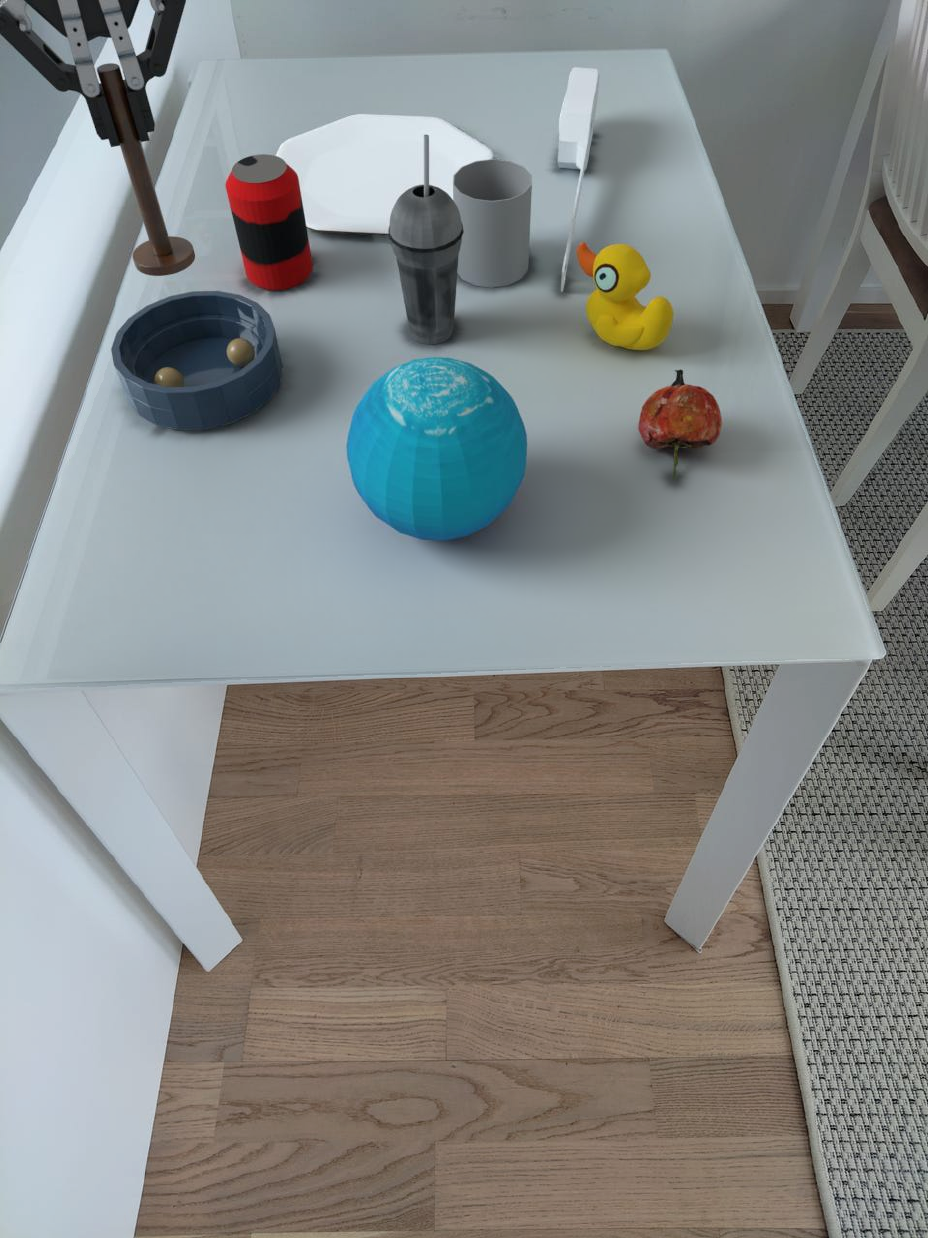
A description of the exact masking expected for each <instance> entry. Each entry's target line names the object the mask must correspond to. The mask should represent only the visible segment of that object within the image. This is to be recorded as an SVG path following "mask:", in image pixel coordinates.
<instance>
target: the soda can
mask: <svg viewBox="0 0 928 1238" xmlns="http://www.w3.org/2000/svg"><path fill="white" fill-rule="evenodd" d="M224 186H225V190H226V194H227V195H226V196H227V200H228V203H229V206H230V211H231V215H232V221H233V225H234V228H235V233H236V237H237V238H236V239H237V241H238V245H239V250H240V255H241V258H242V263H243V267H244V271H245V276H246V278H247V280H248V281H249V282H250V283H251V284H253V285H254V286H255V287H257V288H259V289H262V290H267V291H275V292H279V291H286V290H291V289H294V288H296V287H298V286H300V285H302V284H304V283H305V281H307V280H308V279H309V277H310V275H311V274H312V273H313V270H314V267H313V266H314V264H313V257H312V251H311V246H310V245H311V244H310V239H309V233H308V228H307V227H306V221H305V215H304V209H303V203H302V197H301V191H300V185H299V179H298V175H297V173H296V172H295V171H294V170H293V169H292V168H291V167H290V166H289V165H288V164H286V162H285V161H284V160H283V159H281V158H280V157H277V156H276V155H273V154H253V155H249V156H245V157H243V158H242V159H239V160H238V161H237V162H235V163H234V165H232V168H231V171H230V174H229V175H228V177H227V179H226V181H225V185H224Z"/></svg>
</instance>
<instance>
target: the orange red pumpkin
mask: <svg viewBox="0 0 928 1238" xmlns="http://www.w3.org/2000/svg"><path fill="white" fill-rule="evenodd" d="M674 372H675V373H676V378H675V380H674V381H673V382H672V383H671V384H670V385H666V386H664V387H662V388H660V389H658V390H656V391H654V392H653V393H652V394H651V395H650V396H648V398H647V399H646V400H645V402H644V403H643V405H642V407H641V410H640V414H639V419H638V427H637V429H638V432H639V434H640V437H641V438H642V440H643V442H644V443H645V445H646V446H647V447H649V448H650V449H652V450H653V449H654V450H659V449H660V450H661V449H665V448H670V447H671V448H674V449H673V473H672V474H673V475H672V477H673V478H672V481H675V479H676V475H677V467H678V464H679V459H678V450H679V448H680V449H687V450H693V449H701V448H703V447H704V446H707V447H709V446H712V445H714V444H715V443H716V441H717V440H718V439H719V437H720V435H721V430H722V425H723V419H722V414H721V413H722V412H721V409H720V406H719V404H718V401H717V399H716V398H715V396H714V395H713V394H711V393H710V391H708V390H707V389H705V388H703V387H701V386H699V385H692V384H689V383H685V381H684V370H683V369H681V368H680V369H674Z"/></svg>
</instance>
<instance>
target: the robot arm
mask: <svg viewBox="0 0 928 1238" xmlns="http://www.w3.org/2000/svg"><path fill="white" fill-rule="evenodd" d="M140 1H141V0H0V36H2V37H3V39H4V40H6V42H7V43H8V44H10V46H12V48H14V49H15V51H16V52H18V53H19V54H20V55H21V56H22V57H23V58H24V59H25V60H26V61H27V62H28V63H29V64H30V65H31V66H32V67H33V68H34V69H35V70H36V71H37V72H38V73H39V74H40V75H41V76H42V77H43V78H44V79H45V80H46V81H47V82H48V83H50V85H51V86H52V87H53V88H55V90H57V91H58V92H62V93H66V92H68V91H70V92H76V93H78V94H80V95H81V96H82V97H83V98H84V99H85V103H86V105H87V108H88V112H89V114H90V117H91V120H92V123H93V127H94V130H95V133H96V135H97V137H98V138H100V140H101V141H106V140H108V143H109V146H110V148H114V147H120V142H119V139H118V136H117V133H116V129H115V126H114V123H113V120H112V116H111V113H110V110H109V107H108V103H107V100H106V97H105V94H104V90H103V89H102V85H101V82H100V81H99V79H98V74H97V70H96V68H95V65H94V64H95V63H94V61H93V57H92V53H91V48H90V45H89V42H90V41H93V40H94V39H96V38H99V37H100V38H109V39H111V41H112V43H113V47H114V49H115V51H116V55H117V58H118V60H119V65H120V66H121V67H120V68H121V69H122V75H123V78H124V79H123V81H124V84H125V90H126V93H127V97H128V100H129V104H130V107H131V110H132V114H133V117H134V121H135V124H136V128H137V131H138V135H139V138H140V141H141V143H144V142H150V141H151V140H150V137H149V133H153V132H155V127H156V122H155V118H154V115H153V112H152V108H151V105H150V101H149V97H148V93H147V90H146V88H147V87H146V86H147V84H148V82H149V81H151V80H152V79H154V78H155V77H156V78H161V77H164V76H165V75H166V73H167V71H168V67H169V63H170V59H171V56H172V53H173V49H174V46H175V42H176V38H177V34H178V31H179V28H180V24H181V20H182V17H183V13H184V9H185V7H186V2H187V0H149V3H150V7H151V8H152V9H153V11H154V14H153V18H152V21H151V26H150V29H149V33H148V37H147V41H146V44H145V48H144V50H143V51H142V52H140V53H139V54H136V50H135V47H134V45H133V41H132V39H131V35H130V33H129V28H130V27H131V25H132V23H133V20H134V18H135V15H136V12H137V9H138V6H139V3H140ZM27 6H29V7H30V8H31V9H33V11H35V12H36V13H37V14H38V15H39V16H40V17H41V18H43V19H44V20H45V21H46V22H47V23H48V24H49V25H50V26H52V27H53V28H54V29H55V30H56V31H57V32H58V33H59V34H60V35H62V36H63V37H65V38H66V39H67V40H68V43H69V47H70V51H71V54H72V59H73V62H74V64H71V63H66V62H65V61H64V60H63V59H62V58H61V57H60V56H59V55H58V54H57V53H56V52H55V51H54V50H53V49H52V48H51V47H50V46H49V45H48V44H47V42H45V41H44V40H43V39H42V38H41V37H40V36H39V35H38V34H37V33H36V32H35V31H34V30H33V21H32V16H31V15H30V13H29V11H28V10H27V8H26V7H27Z"/></svg>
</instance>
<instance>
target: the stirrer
mask: <svg viewBox="0 0 928 1238" xmlns="http://www.w3.org/2000/svg"><path fill="white" fill-rule="evenodd" d="M96 73H97V77H98V78H99V79H98V80H99V83H101V85H102V89H103V90H104V94H105V97H106V100H107V103H108V107H109V110H110V113H111V116H112V120H113V123H114V126H115V129H116V133H117V136H118V139H119V142H120V146H119V148H120V150H121V153H122V157H123V160H124V164H125V167H126V170H127V173H128V176H129V180H130V183H131V187H132V190H133V192H134V195H135V200H136V203H137V206H138V208H139V212H140V216H141V219H142V222H143V224H144V225H143V226H144V229H145V230H146V235H147V238H148V240H146V241H144V242H142V243H140V244H139V245H138V246H137V247H136V248H135V249H134V250H133V252H132V260H133V264H134V267H135V268H136V270H137V271H139V272H140V273H141V274H144V275H146V276H152V277H165V276H170V275H174V274H177V273H180V272H182V271H184V270H186V269H188V268H189V267H190V266H192V265H193V263H194V262H195V259H196V253H195V249H194V246H193V243H192V242H191V241H189V240H188V239H186V238H184V237H180V236H172V235H171V236H170V235H169V233H168V230H167V226H166V223H165V219H164V215H163V213H162V209H161V205H160V202H159V199H158V195H157V191H156V188H155V185H154V182H153V178H152V174H151V170H150V167H149V163H148V160H147V157H146V153H145V150H144V147H143V142H141V141H140V138H139V135H138V131H137V128H136V124H135V121H134V117H133V114H132V110H131V107H130V104H129V100H128V97H127V93H126V90H125V84H124V81H123V80H124V76H123V73H122V71H121V67H120V64H118V63H103V64H101V65H99V66H97V68H96Z"/></svg>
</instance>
